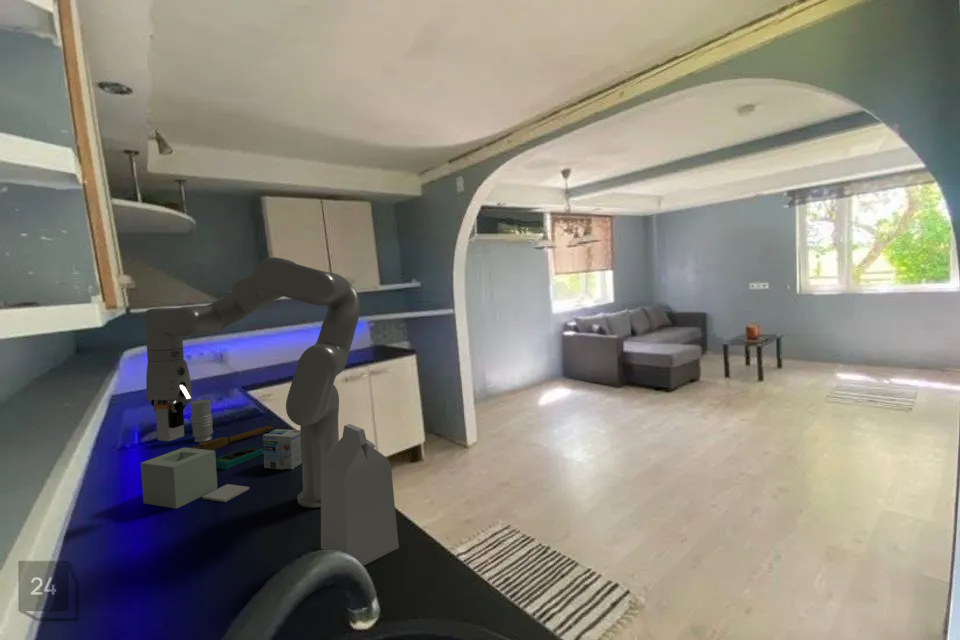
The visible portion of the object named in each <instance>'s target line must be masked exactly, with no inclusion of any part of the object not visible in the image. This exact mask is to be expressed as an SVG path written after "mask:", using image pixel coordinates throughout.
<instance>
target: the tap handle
mask: <svg viewBox="0 0 960 640" xmlns="http://www.w3.org/2000/svg"><path fill="white" fill-rule="evenodd" d="M270 430H272V431H274V430H273V426H272V425H271V424H269V425H265V426H264V427H262V426H261V427H257V428H256V429H255V428H254V429H252V430H247V431H246V432H242V433H239V434H235V435H233V436H227V437H225V436H222V437H221V436H220V437H217V438H212V439H210V440H208V441H203V442H199V444H198V445H197V446H195V445H194V446H191V447H190V448H194V449H204V450H213V451H215V450H217V449H221V448H224V447H227V446H228V445H231V444H232V443H236V442H240V441H243V440H242V439H244V440H246V439H245V438H248V437H251V436H254V435H257V434H260V433H263V432H265V431H270ZM251 438H252V437H251ZM248 439H249V438H248ZM239 440H240V441H239ZM235 441H236V442H235ZM226 445H227V446H226ZM223 446H224V447H223ZM220 447H221V448H220Z"/></svg>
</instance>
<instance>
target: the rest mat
mask: <svg viewBox="0 0 960 640" xmlns="http://www.w3.org/2000/svg"><path fill="white" fill-rule="evenodd" d="M248 490H250V486H244V485H237V484H229V483H226V484H224V485H223V486H221V487H219V488H218V489H216V490H214V491H212V492H210V493H208V494H205V495H203V496H201V499H202V500H208V501H209V500H210V501H215V502H222V503H226V502H228V501H231V500H232V499H234V498H235V497H238V496H239V495H241V494H244V493H245V492H247V491H248Z"/></svg>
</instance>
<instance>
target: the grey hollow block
mask: <svg viewBox="0 0 960 640" xmlns="http://www.w3.org/2000/svg"><path fill="white" fill-rule="evenodd" d="M216 458H217V457H216V450H204V449H194V448H191V447H182V448H178V449H175V450H173V451H169V452H167V453H165V454H162V455H159V456H156V457H153V458H150V459H148V460H145V461H142V462H140V473H141V487H142V499H143V504H145V505H152V506H159V507H165V508H168V509H169V508H170V509H175V510H176V509H178V508H181V507H183V506H185V505H187V504H189V503H191V502H194V501H195V500H198V499H199V498H202V496H204V495H206V494H208V493H210V492H212V491H214V490H217V489H219V488H218V476H217V475H218V474H217V468H216Z"/></svg>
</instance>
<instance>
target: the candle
mask: <svg viewBox="0 0 960 640" xmlns="http://www.w3.org/2000/svg"><path fill="white" fill-rule="evenodd" d="M211 402H212V400H211V399H208V398H207V399H198V400H194V401H190V402H189V404H190V405H191V416H190V419H191V420H190V421H191V428H192V437H193V438H194V443H203V442H206V441H210V440H213V436H212V435H213V434H214V429H213V424H214V423H213V421H214V420H213V413H212V407H211Z"/></svg>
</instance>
